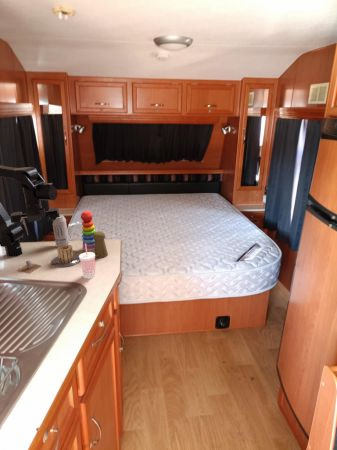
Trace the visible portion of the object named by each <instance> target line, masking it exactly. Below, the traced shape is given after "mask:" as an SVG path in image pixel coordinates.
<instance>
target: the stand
mask: <svg viewBox="0 0 337 450" xmlns="http://www.w3.org/2000/svg"><path fill="white" fill-rule="evenodd" d="M41 267H42V265H41V264H36V263H32V262H31V260H27V261H25V265H24V266H22V267H20V268H18V269H17V270H16V272H21V273H25V274H30V275H31V273H34V271H36V270H38V269H39V268H41Z"/></svg>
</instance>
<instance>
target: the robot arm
mask: <svg viewBox="0 0 337 450" xmlns="http://www.w3.org/2000/svg"><path fill="white" fill-rule="evenodd" d="M0 177H2V178H6V179H7V178H8V179H13V180H15V182H17V183H20V185H18V187H17V189H22V191H23V194H24V201H25V205H26V206H25V207H26V210H25V213H23V212H22V211H13V212H12V213H11V214H10V215H9V214H8V211H6V209H5V207H4V206H3V204H2V202H0V233H1V236H2V237H1V238H0V247H2V248H4V250H5V254H6V255H7V257H10V258H12V257H19V256H21V255H23V253H24V252H23V249H22V246H21V243H20V241H23V238H24V234H25V235H26V236H29V233H28V228H27V224H26V219H27V221H28V223H32V222H39V221H41V220H42V218H43V217H47V216H48V225H49V227H48V230H49V233H50V234H51V233H52V229H53V221H54V220H56V218H58V217H59V215H60V209H59V208H58V207H50V208H48V210H45V207H42V201H55V200H56V199H57V197H58V190H57V188H56V187H55V186H54V185H53V182H49V183H46V180H45V179H44V178H43V176H42V175H40V173H39V172H38V170H37V168H36V167H34V166H29V167H28V166H26V167H24V166H23V167H12V166H7V165H6V166H5V165H2V164H0Z"/></svg>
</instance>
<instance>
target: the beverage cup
mask: <svg viewBox="0 0 337 450" xmlns="http://www.w3.org/2000/svg"><path fill="white" fill-rule="evenodd" d="M85 248H86V251H84V252H83V253H80V254H78V255H79V259H80V261H81V262H80V266H81V271H82V274H83V275H82V276H83V278H84V279H86V278H90V279H93V278H95V277H96V261H95V260H96V259H95V257H96V255H95V253H94V252H87V246H86V243H85Z"/></svg>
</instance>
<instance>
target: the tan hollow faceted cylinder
mask: <svg viewBox="0 0 337 450" xmlns="http://www.w3.org/2000/svg"><path fill="white" fill-rule="evenodd" d="M56 251H57V256H58V257H59V262H60V263H62V264H67V263H70V262H72V261H74V257H73V254H74V250H73V245H71V244H69V245H62V246H60V247H58V246H57V249H56Z"/></svg>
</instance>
